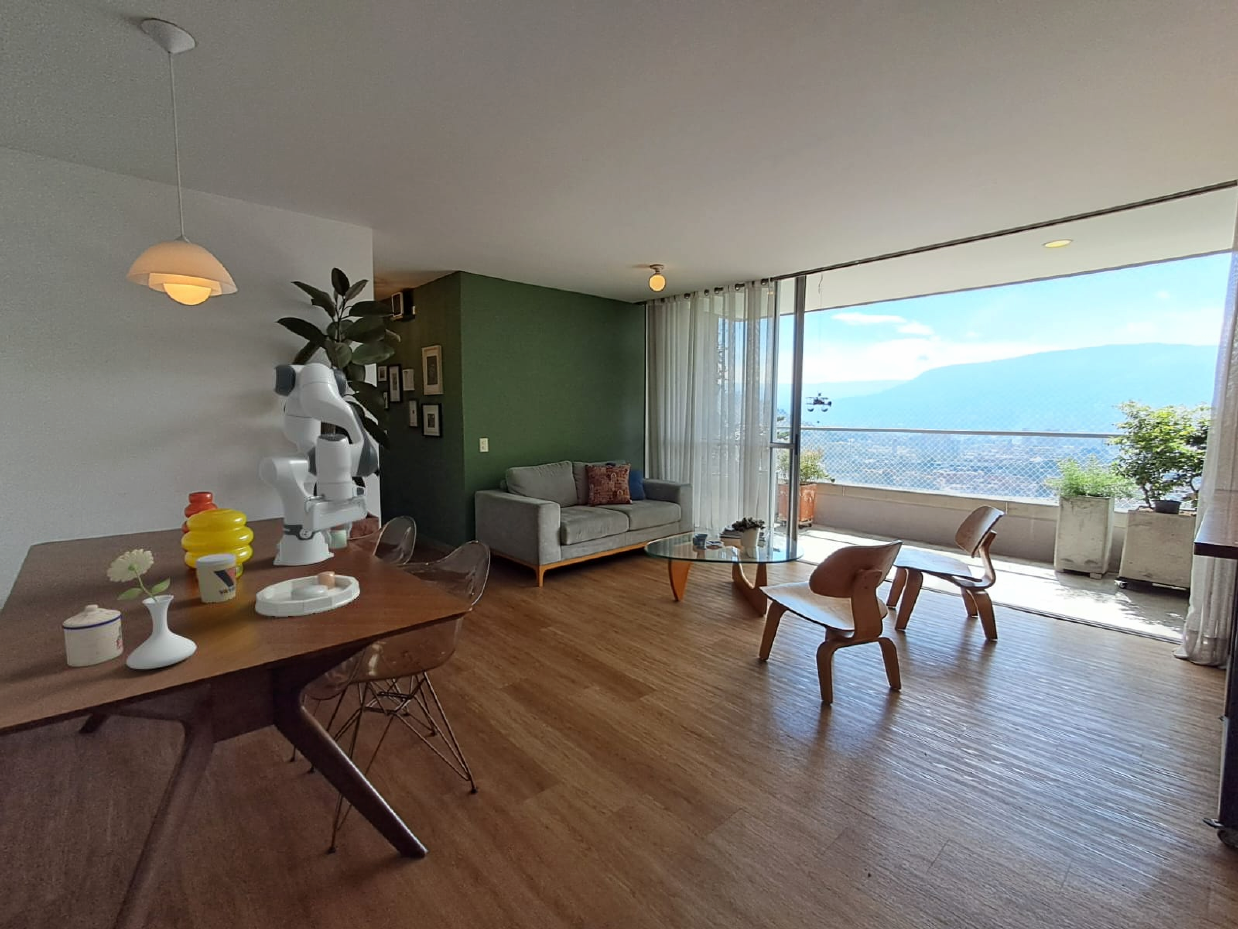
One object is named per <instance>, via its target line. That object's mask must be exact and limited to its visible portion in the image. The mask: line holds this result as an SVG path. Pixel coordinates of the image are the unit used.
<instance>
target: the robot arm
mask: <svg viewBox="0 0 1238 929" xmlns="http://www.w3.org/2000/svg"><path fill="white" fill-rule="evenodd" d="M270 384H271V386H272V389H273V390H272V391H274V392H275V394H276V395H279V396H282V397H286V399H285V400H286V401H285V406H284V418H283V436H284V437H285V438H286V439H287V440H288V441H290V442H292V443H294V444H295V445H296V448H297V451H296V452H291V453H278V454H274V455H270V456H267V457H264V459H262V460H261V461H260V462H259V463H260V464H259V466H258V474H259V478H260V479H261V480H262V481H263V483H265V484H266V485H268V486H269V487H271V488H272V489H273V490H274V491H276V494H278V497H279V499H280V500H281V504H282V511H283V512H282V513H283V522H284V523H283V524H282V532H283V536H282V538H280V540H279V542H278V543H276V546H275V547H276V550H277V551H278V552H277V554H276V556H275V559H274V561H273V565H274V566H293V567H294V566H304V565H305V566H306V565H312V564H315V563H320V562H324V561H326V560H327V559H330V558H333V557H334V553H333V552H331V551H329V544H330V543H333V542H334V537H333V536H331V535H330V533H329V532H330V531H332V530H331V529H332V528H334V527H339V526H341V525H342V526H343V528H342V530H346V540H348V539H349V538H350V533H351V530H352V528H353V522H356V521H362V520H364V519H366V517H367V515H368V502H367V497H366V494H367V489H366V487H364V486H359V485H355V484H353V477H357V478H368V477H370V476H372V474H374V473H375V472H376V471H377V470H378V468H379V456H378V453H377V450H376V448H375V446H374V445H373V443H372V442H371V440H370V438H369V436H368V434H367V432H366V429H365V428H364V427H365V426H364V425H363V423H362V420H361V418H360V416H359V414H358V412H357V410H356V409H355V407H354V406H353V405H352V404H350V403H348V402H346V401H345V399H343V397H344V396H345V395H346V392H347V389H348V380H347V377H346V374H345V373H344V372H343V371H341V370H338V369H336V368H331V369H330V368H329V367H328V366H327V365H326V364H324V363H318V362H311V363H309V364H306V365H301V364H289V363H282V364H281V363H280V364H278V365H276V366H275V367H274V368H273V371H272V372H271V374H270ZM322 423H326V424H330V425H331V424H332V425H335V426H338V427H340V428H343V429H345V430H346V432H347V433H348V435H349V437H350V439H351V442H352V443H351V444H350V443H349V438H348V436H346V435H344V434H341V433H323V434H322V433H321V428H322V427H321V426H322V425H321V424H322ZM308 483H316V495H313V494H310V493H309V492H307V490H306V489H305V485H304V484H308Z"/></svg>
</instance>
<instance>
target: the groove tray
mask: <svg viewBox="0 0 1238 929" xmlns="http://www.w3.org/2000/svg"><path fill="white" fill-rule="evenodd" d="M334 575H335V588H333V589H330V590H327V586H325V585H318V575H311V576H307V577H306V576H305V577H299V578H292V579H287V580H284V581H281V582H278V583H275V584H271V585H268V586H266V587H265V588H264V589H262V590H260V591H259V592H258V593H256V594H255V595H256V603H255V605H254V606H255V607H254V608H255V609H254V610H255V612H256V613H258V614H259V615H262V616H265V617H266V616H267V617H271V616H275V617H276V618H284V617H285V618H289V617H288V616H293V617H301V616H310V615H314V614H313V613H315V614H320V613H324V611H325V612H328V610H329V611H332V610H336V609H339V608H341V606H342V607H344V606H346V605H348V603H349V602H351V603H352V601H353V600H354V599H356V598H357V597H358V596H359V597H360V595H361V589H360V584H359V581H358V580H357V579H356V578H355V577H353V576H347V575H339V574H334ZM359 594H360V595H359ZM359 597H358V598H359ZM358 598H357V599H358ZM357 599H356V600H357ZM354 601H355V600H354ZM354 601H353V602H354ZM349 604H350V603H349ZM338 607H339V608H338ZM331 609H332V610H331ZM309 614H310V615H309Z"/></svg>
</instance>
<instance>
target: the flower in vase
mask: <svg viewBox="0 0 1238 929" xmlns="http://www.w3.org/2000/svg"><path fill="white" fill-rule="evenodd" d="M151 552H152V551H150V550H148V551H147V550H146V551H144V549H143V548H141V549H134V550H132V551H130V552H129V551H126V552H124V553H123V555H119V556H118V557H117V558H116V559H115V561H112V563H111V564H110V568H108V569H107V571H106V576H107V577H109V581H110V582H114V583H115V582H116V583H117V582H119V581H121V583H124V582H125V583H126V582H128V581H129V582H130V581H132V580H134V579H138V582H139V584H140V588H136V587H135V588H130V589H128V590H125V591H124V592H123V593H121V594H120V595H119V596H118V598H117V599H116V601H121V600H123V601H124V600H132V599H135V598H137V597H138V596H140V595H141V593H142V592H145V593H146V594H148V595H149V598H146V599H144V600H142V601H141V602H142V604H143V605H145V607H146V608H147V609H148V610H149V613H150V616H151V619H152V632H151V635H150V636H149V637H148V639H146V640H145V641H144V642H142V643H141V644H140V645H139V646H138V647H137V648H135V649H134V650H133V651H132V652H131V653H130V654H129V655H128V657H127V659H126V661H125V664H126V665H127V666H128V667H129V668H131V669H136V670H151V669H157V668H162V667H166V666H170V665H173V664H176V663H179V662H181V661H183V660H186V659H187V658H189V657H191V656H192V655H193V654H194V653H195V651H196V650H197V645H196V644H195V642H194V641H192V640H191V639H189V638H186V637H183V636H182V635H178V634H176V633H174V632H172V631H171V630H170V629H169V627H168V622H167V621H168V619H167V618H168V617H167V615H168V608H169V605H170V604H171V601H172V600H173V599H174V595H171V594H170V595H169V594H164V595H157V596H154V595H156V594H159V593H161V592H163V591H166V589H168V587H169V585H170V583H171V582H170V581H171V579H170V578H167V579H166V580H165V581H163V582H159V583H158V584H156V585H155V586H153V587H152V589H151V592H149V591H148V590H147V589H146V588H145V587H144V584H143V582H142V580H141V578H140V576H141V575H143V574H146V573H147V571H148V570H149V569H150V568H151V566H152V565H153V564H154V556H152V555H153V553H151Z"/></svg>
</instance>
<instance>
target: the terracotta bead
mask: <svg viewBox="0 0 1238 929" xmlns="http://www.w3.org/2000/svg"><path fill="white" fill-rule="evenodd" d="M335 575H336V574H335V572H334V571H329V570H328V571H323V572H322V571H321V572H319V573H317V576H318V585H325V586H327V590H330V589H333V588H335Z"/></svg>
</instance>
